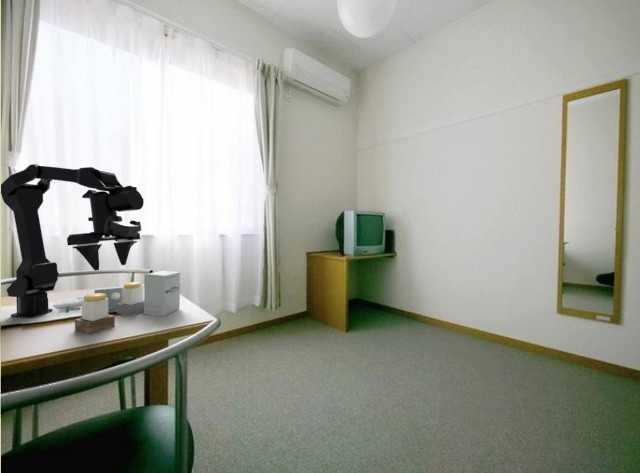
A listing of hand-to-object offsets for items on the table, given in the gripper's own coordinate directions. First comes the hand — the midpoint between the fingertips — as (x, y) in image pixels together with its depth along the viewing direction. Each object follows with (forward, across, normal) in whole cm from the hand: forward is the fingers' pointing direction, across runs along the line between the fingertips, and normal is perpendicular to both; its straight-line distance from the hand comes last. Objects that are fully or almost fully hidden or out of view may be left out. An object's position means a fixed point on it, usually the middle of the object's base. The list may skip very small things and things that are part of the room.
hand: (110, 267), depth 81 cm
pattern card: (+14, +8, +9) cm, 19 cm away
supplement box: (+17, +10, -7) cm, 21 cm away
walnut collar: (+15, -6, +1) cm, 17 cm away
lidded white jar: (+12, -6, 0) cm, 14 cm away
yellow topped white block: (+12, +8, +1) cm, 15 cm away
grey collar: (+15, +8, +1) cm, 17 cm away
